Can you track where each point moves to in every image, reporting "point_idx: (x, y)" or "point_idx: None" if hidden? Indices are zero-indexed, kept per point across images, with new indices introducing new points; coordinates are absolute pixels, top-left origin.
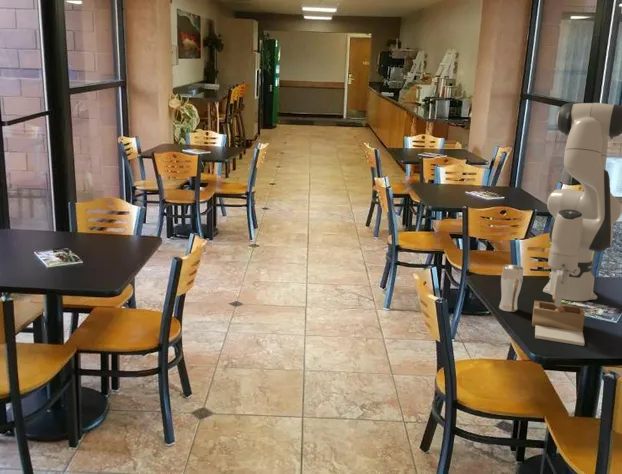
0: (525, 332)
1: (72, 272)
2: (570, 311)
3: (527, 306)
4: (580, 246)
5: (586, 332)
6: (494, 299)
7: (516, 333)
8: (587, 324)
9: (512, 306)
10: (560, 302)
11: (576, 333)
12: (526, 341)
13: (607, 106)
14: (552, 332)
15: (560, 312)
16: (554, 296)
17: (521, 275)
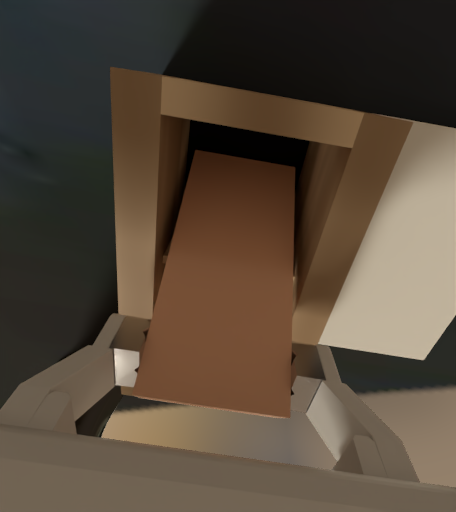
0: (351, 367)
1: None
2: (166, 184)
3: (4, 312)
4: None
5: (311, 63)
6: (4, 402)
7: (365, 393)
8: (135, 6)
9: (108, 394)
10: (337, 376)
11: (401, 164)
12: (450, 378)
13: None
14: (389, 291)
15: (328, 306)
16: (220, 409)
17: None
